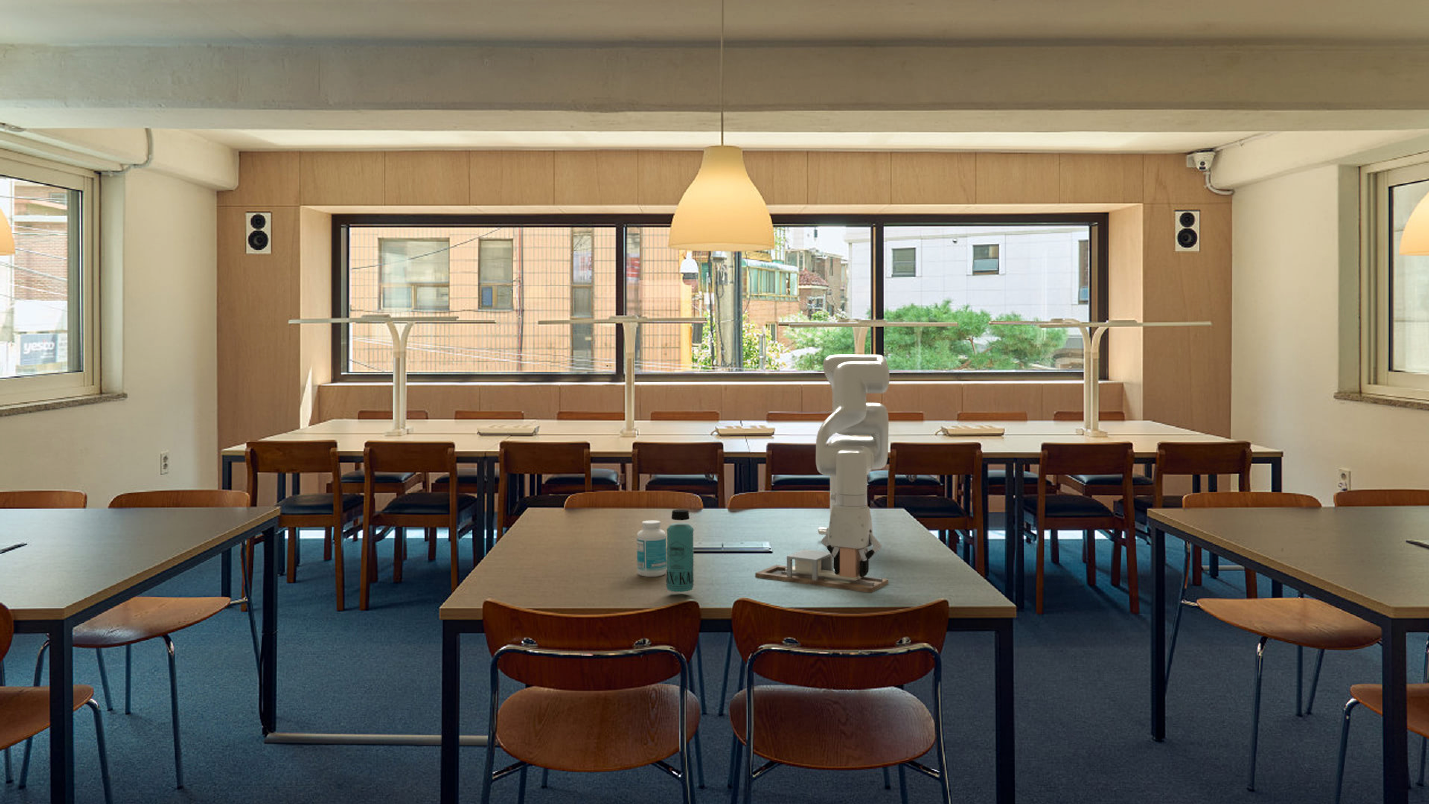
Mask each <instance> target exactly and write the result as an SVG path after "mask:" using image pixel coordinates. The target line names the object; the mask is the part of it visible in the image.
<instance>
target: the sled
mask: <svg viewBox="0 0 1429 804" xmlns="http://www.w3.org/2000/svg"><path fill="white" fill-rule="evenodd" d="M860 561H861V555H860V552H859V550H858V549H848V548H840V573H838V574H835V570H833V571H829V570H821V560H820V561H818V576H825V577H833V578H840V579H848V580H858V579H860V578H861V577H860V576H859V566H860ZM785 571H787V568H785ZM792 572H794V573H802V574H810V575H812V562H811V561H803V560H795V559H794V565H792Z"/></svg>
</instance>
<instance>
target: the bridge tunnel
mask: <svg viewBox="0 0 1429 804" xmlns="http://www.w3.org/2000/svg"><path fill="white" fill-rule="evenodd" d="M793 560H794V561H795V560H803V561H811V562H812V580H818V561H820V560H821V570H829V571H834V568H833V557H832V555H831V553H830V552H829V551H821V550H814V549H813V550H812V549H811V550H810V549H801V550H799V551H797V552H794V553H791V554H789V555H787V556H786V566H787V577H792V566H793Z"/></svg>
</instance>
